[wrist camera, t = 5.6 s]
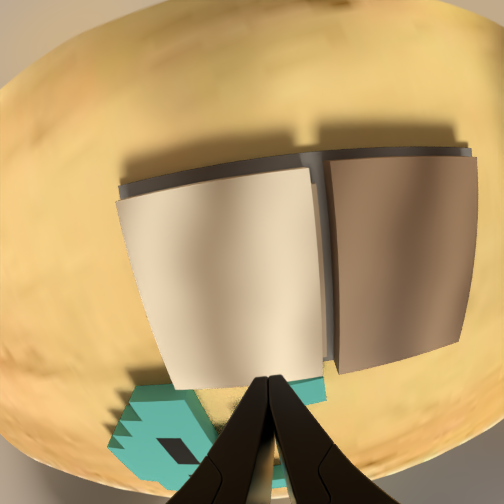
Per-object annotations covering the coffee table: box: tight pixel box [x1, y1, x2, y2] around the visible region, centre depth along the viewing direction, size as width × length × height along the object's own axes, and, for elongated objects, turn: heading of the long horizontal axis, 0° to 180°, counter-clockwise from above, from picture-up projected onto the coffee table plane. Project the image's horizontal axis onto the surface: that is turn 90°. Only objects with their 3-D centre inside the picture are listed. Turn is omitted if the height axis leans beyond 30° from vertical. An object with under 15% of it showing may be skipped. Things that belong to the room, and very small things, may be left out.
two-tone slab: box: [118, 147, 478, 375], centre depth 15 cm, size 20×12×2 cm, turn 98°
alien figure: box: [107, 376, 327, 491], centre depth 21 cm, size 20×2×20 cm
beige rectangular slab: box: [116, 167, 327, 390], centre depth 15 cm, size 9×12×2 cm
